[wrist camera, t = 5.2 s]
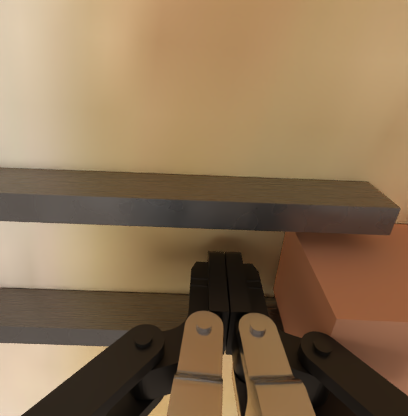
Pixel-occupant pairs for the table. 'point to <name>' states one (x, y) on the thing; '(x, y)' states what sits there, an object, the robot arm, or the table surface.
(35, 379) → the table surface
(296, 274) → the block
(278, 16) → the table surface
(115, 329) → the rectangular frame
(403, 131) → the table surface
